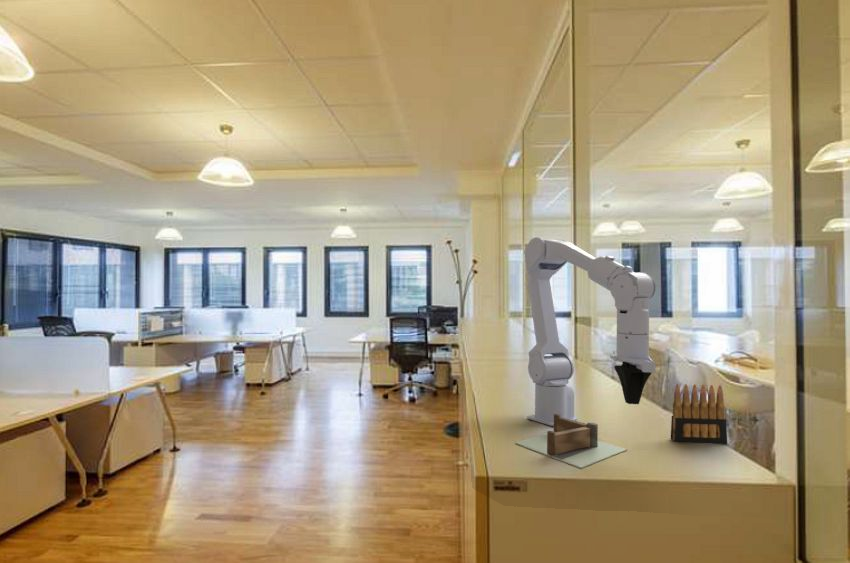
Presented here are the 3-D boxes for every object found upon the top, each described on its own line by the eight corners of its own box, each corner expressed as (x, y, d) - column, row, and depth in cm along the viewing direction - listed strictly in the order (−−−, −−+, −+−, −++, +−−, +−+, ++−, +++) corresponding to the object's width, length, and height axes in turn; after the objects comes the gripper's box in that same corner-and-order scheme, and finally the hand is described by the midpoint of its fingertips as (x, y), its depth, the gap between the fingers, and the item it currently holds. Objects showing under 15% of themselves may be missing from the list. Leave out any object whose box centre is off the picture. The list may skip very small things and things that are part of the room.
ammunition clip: (721, 441, 91) (721, 384, 91) (727, 444, 89) (727, 386, 89) (670, 439, 91) (670, 382, 91) (675, 442, 89) (675, 384, 90)
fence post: (557, 433, 93) (557, 412, 93) (599, 447, 85) (599, 424, 85) (551, 435, 92) (551, 414, 92) (593, 449, 84) (594, 426, 84)
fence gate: (584, 444, 85) (584, 424, 86) (590, 446, 84) (590, 426, 84) (545, 453, 80) (545, 431, 80) (551, 455, 79) (551, 433, 79)
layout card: (561, 430, 96) (561, 428, 96) (626, 450, 84) (626, 449, 84) (515, 443, 87) (515, 442, 87) (581, 468, 75) (581, 467, 75)
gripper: (598, 329, 91) (598, 393, 91) (627, 336, 77) (626, 412, 76) (632, 330, 91) (632, 394, 90) (667, 337, 76) (667, 414, 76)
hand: (632, 403), depth 83 cm, fingers closed
